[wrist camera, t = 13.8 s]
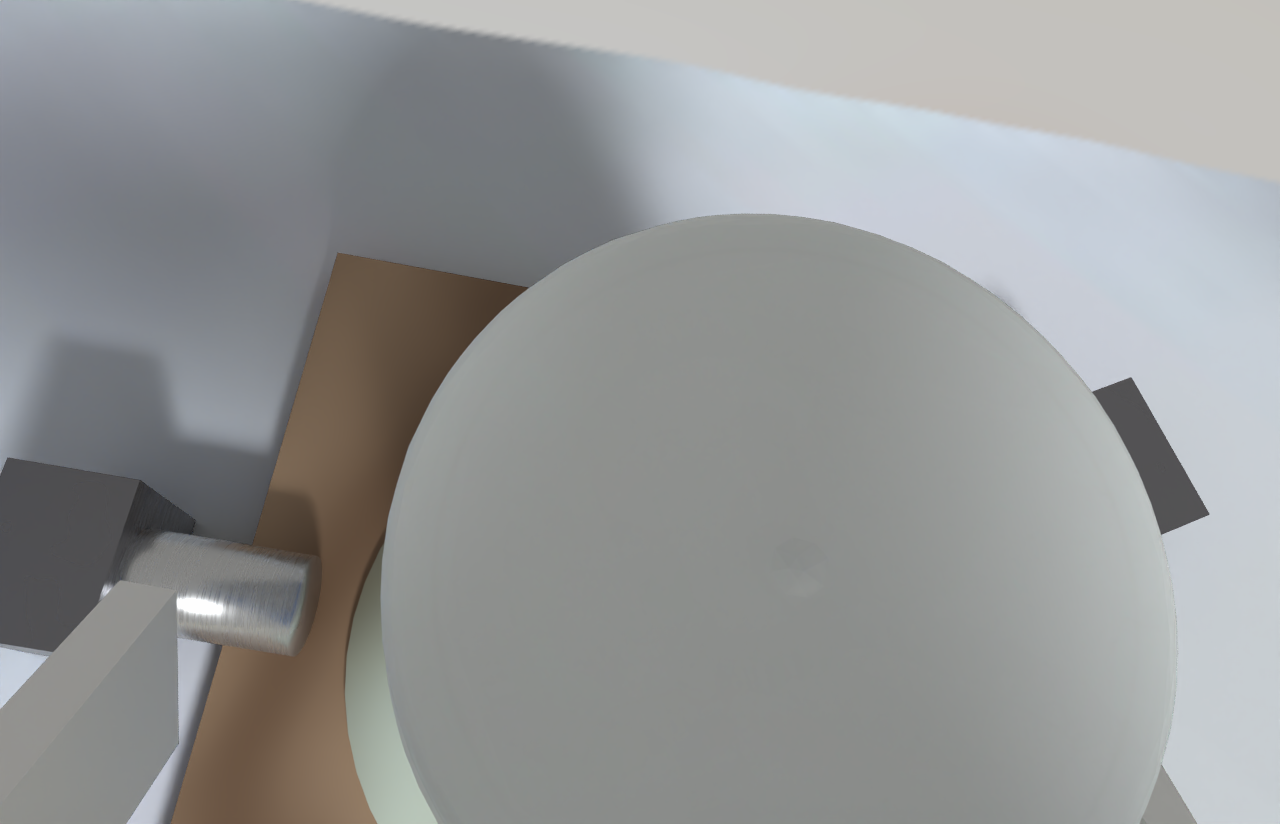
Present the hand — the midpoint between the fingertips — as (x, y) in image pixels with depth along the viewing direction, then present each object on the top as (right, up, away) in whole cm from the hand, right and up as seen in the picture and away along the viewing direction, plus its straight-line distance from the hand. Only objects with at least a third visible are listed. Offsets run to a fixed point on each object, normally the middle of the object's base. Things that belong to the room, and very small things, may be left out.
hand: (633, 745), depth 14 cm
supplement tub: (0, -2, +11) cm, 11 cm away
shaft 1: (-12, 0, +12) cm, 17 cm away
